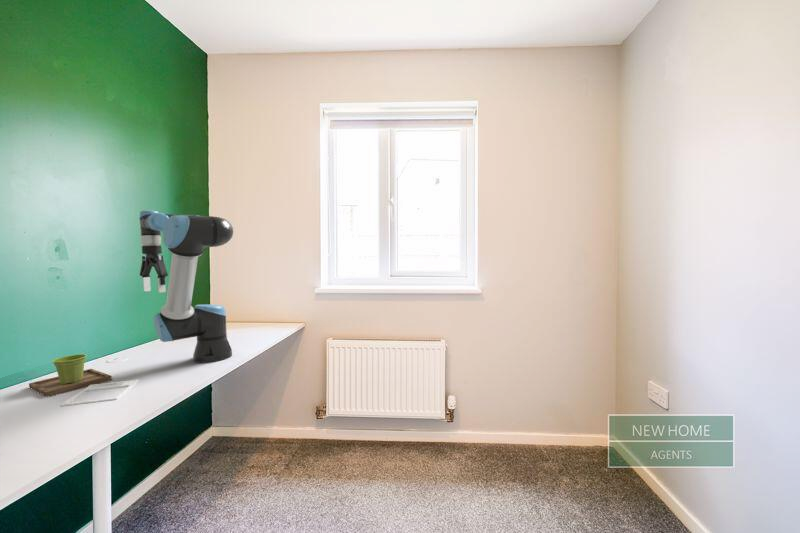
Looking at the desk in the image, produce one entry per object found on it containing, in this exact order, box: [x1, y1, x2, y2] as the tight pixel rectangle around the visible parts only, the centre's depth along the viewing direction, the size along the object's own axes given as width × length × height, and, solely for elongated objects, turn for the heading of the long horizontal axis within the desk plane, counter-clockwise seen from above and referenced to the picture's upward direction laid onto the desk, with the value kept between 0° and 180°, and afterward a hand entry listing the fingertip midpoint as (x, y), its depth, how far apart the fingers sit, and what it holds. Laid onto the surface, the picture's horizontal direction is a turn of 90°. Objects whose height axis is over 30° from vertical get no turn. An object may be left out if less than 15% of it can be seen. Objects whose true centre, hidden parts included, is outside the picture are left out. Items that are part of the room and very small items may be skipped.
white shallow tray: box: [60, 379, 139, 407], centre depth 126 cm, size 15×1×18 cm
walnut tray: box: [28, 368, 113, 398], centre depth 136 cm, size 18×18×2 cm
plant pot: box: [51, 353, 88, 384], centre depth 136 cm, size 9×9×9 cm
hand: (154, 291), depth 172 cm, fingers open, 13 cm apart
